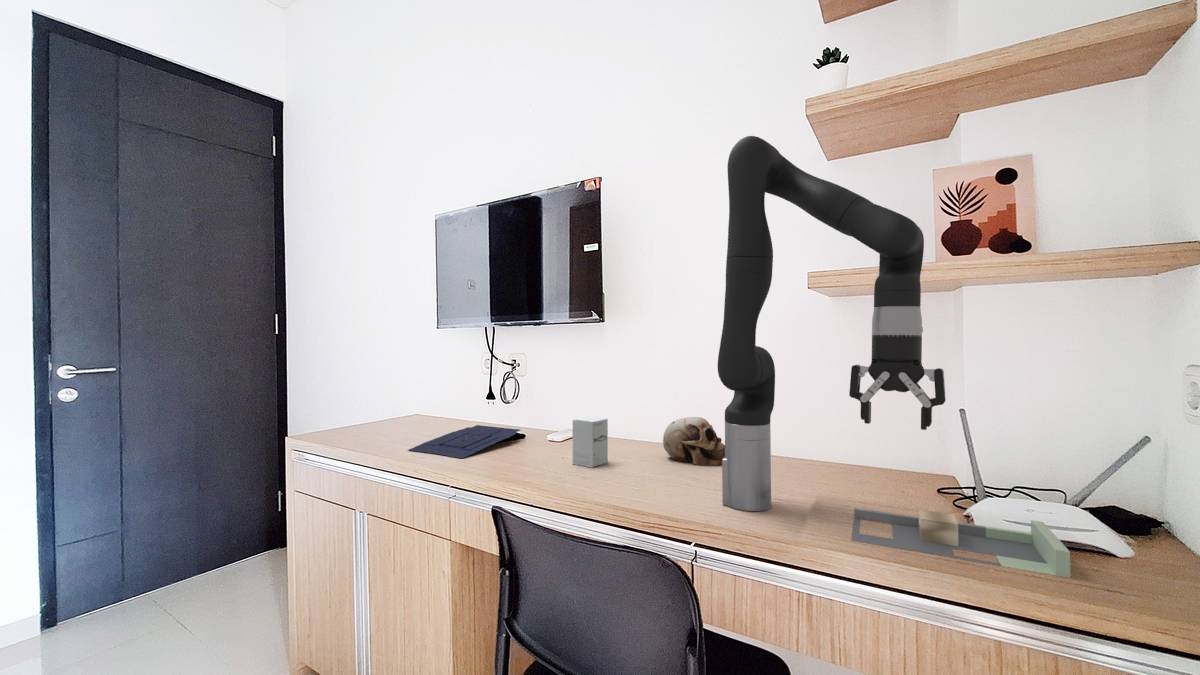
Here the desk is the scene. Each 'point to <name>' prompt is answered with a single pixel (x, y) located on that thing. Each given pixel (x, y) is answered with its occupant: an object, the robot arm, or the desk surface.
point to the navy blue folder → (465, 441)
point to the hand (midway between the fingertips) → (895, 426)
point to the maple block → (938, 527)
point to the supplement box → (590, 441)
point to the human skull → (693, 442)
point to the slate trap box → (975, 543)
